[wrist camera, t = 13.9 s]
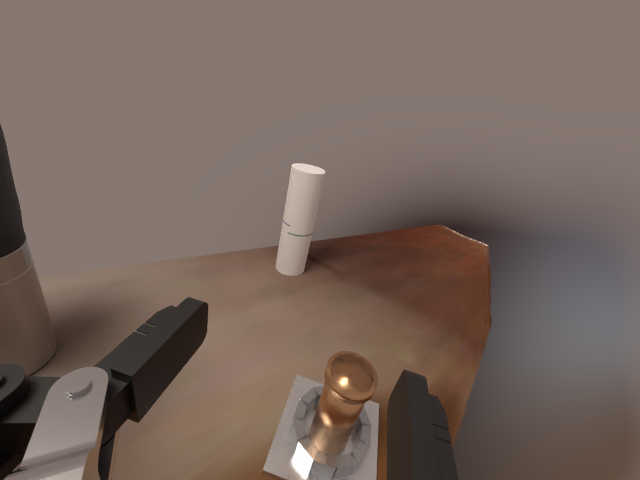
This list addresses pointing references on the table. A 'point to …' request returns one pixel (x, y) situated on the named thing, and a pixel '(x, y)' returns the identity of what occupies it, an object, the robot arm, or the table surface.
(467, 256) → the table surface
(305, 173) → the cylindrical container
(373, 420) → the duct collar
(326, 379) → the copper pipe
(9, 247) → the robot arm
